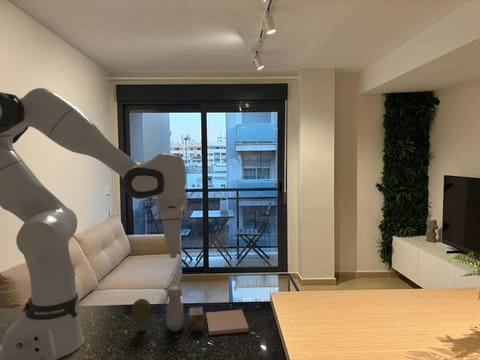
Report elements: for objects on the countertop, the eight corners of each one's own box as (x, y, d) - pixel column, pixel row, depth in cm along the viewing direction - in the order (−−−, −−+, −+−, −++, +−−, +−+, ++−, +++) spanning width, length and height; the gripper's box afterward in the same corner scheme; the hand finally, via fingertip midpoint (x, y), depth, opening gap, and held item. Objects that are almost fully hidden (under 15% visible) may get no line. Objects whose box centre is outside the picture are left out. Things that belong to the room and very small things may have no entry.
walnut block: (190, 331, 110) (189, 315, 109) (189, 323, 115) (189, 308, 114) (203, 329, 111) (203, 314, 110) (202, 321, 116) (202, 307, 115)
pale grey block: (167, 318, 118) (167, 303, 118) (168, 311, 123) (167, 297, 123) (183, 317, 119) (182, 302, 118) (183, 310, 124) (182, 296, 123)
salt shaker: (180, 333, 108) (179, 292, 107) (162, 331, 109) (161, 290, 108) (187, 324, 114) (186, 284, 113) (170, 322, 115) (169, 283, 114)
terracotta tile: (209, 335, 107) (209, 331, 107) (206, 316, 119) (206, 312, 119) (248, 331, 109) (248, 327, 109) (241, 313, 121) (241, 309, 121)
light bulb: (155, 330, 110) (154, 299, 109) (139, 337, 106) (137, 305, 105) (145, 324, 114) (144, 294, 113) (129, 331, 110) (127, 299, 109)
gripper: (162, 202, 117) (164, 243, 119) (159, 214, 97) (161, 264, 99) (182, 201, 118) (183, 242, 120) (183, 213, 98) (184, 262, 100)
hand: (173, 252), depth 109 cm, fingers open, 8 cm apart
